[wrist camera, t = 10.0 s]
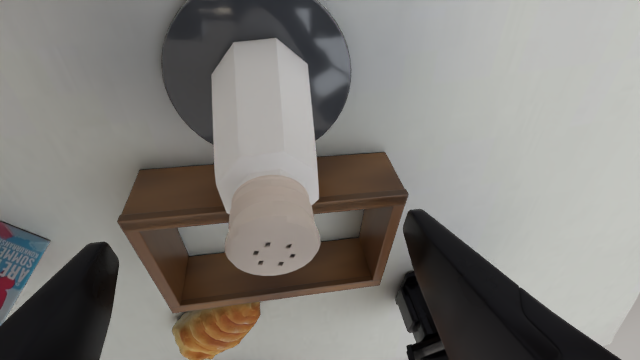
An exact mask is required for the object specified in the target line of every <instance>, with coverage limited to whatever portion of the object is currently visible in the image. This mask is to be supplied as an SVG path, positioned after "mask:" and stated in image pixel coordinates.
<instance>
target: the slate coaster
mask: <svg viewBox="0 0 640 360" xmlns="http://www.w3.org/2000/svg"><path fill="white" fill-rule="evenodd" d="M270 38H277V39H278V40H279V41H281V42H282V43H283V44H284V45H285V46H287V47H288V48H289V49H290V50H291V51H293V52H294V53H295V54H296V55H297V56H299V57H300V58H301V59H302V60H303V61H305V62H306V63H307V64H308V72H309V83H310V93H311V103H312V114H313V124H314V134H315V141H316V140H317V139H318V138H319V137H321V136H322V135H323V134H324V133H325V132H326V131H327V130H328V129H329V128H330V127H331V126H332V125H333V123H334V122H335V121H336V119H337V118H338V116H339V114H340V113H341V111H342V109H343V107H344V105H345V102H346V99H347V96H348V93H349V88H350V82H351V62H350V56H349V51H348V47H347V44H346V41H345V39H344V36H343V34H342V32H341V30H340V28H339V27H338V25H337V23H336V22H335V20H334V19H333V17H332V16H331V15H330V13H329V12H328V11H327V10H326V8H325V7H324V6H323V5H322V4H321V3H320V2H319V1H318V0H187V1H186V2H185V4H184V5H183V6H182V7H181V8H180V10H179V11H178V12H177V14H176V16H175V17H174V19H173V21H172V22H171V24H170V26H169V29H168V31H167V34H166V36H165V40H164V45H163V49H162V73H163V79H164V83H165V87H166V90H167V93H168V95H169V98H170V100H171V102H172V104H173V105H174V107H175V109H176V111H177V112H178V114H179V115H180V116H181V118H182V119H183V120H184V121H185V122H186V124H187V125H188V126H189V127H190V128H191V129H192V130H193V131H195V132H196V133H197V134H198V135H199V136H201V137H202V138H203V139H205V140H206V141H208V142H210V143H211V144H213V145H214V142H213V111H212V79H211V74H212V73H213V71H214V70H215V69H216V67H217V66H218V64H219V63H220V61H221V60H222V58H223V57H224V55H225V54H226V52H227V51H228V50H229V48H230V47H231V45H232V44H233V42H240V41H250V40H260V39H270Z"/></svg>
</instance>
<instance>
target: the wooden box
mask: <svg viewBox="0 0 640 360" xmlns="http://www.w3.org/2000/svg"><path fill="white" fill-rule="evenodd" d="M317 170H318V185H319V199H318V200H317V201H316V202H315V203H314V204H313V205H312V210H313V214H320V213H330V212H340V211H350V210H360V209H364V214H363V219H362V225H361V230H360V235H359V238H352V239H343V240H334V241H325V242H321V244H320V247H319V250H318V252H317V253H316V255H315V256H314V257H313V259H312V260H311V261H310V262H309V263H307V264H306V265H305V266H303V267H301V268H299V269H297V270H295V271H292V272H289V273H286V274H281V275H275V276H261V275H253V274H250V273H247V272H244V271H242V270H240V269H238V268H237V267H236V266H235V265H234V264H233V263H232V262H231V261H230V260H229V259H228V258H227V256H226V253H218V254H209V255H200V256H191V257H189V256H188V253H187V251H186V249H185V246H184V244H183V241H182V239H181V237H180V234H179V232H178V230H177V228H178V227H188V226H198V225H208V224H218V223H229V216H230V214H228V213H226V210H225V207H224V205H223V202H222V199H221V197H220V194H219V191H218V189H217V186H216V180H215V171H214V165H201V166H188V167H174V168H160V169H146V170H139V173H138V175H137V178H136V180H135V182H134V185H133V187H132V190H131V192H130V195H129V197H128V200H127V202H126V204H125V207H124V209H123V212H122V214H121V215H120V216H119V218H118V221H117V222H118V224H119V225H120V227H121V229H122V230H123V232H124V233H125V235H126V237H127V238H128V240H129V241H130V243H131V245H132V246H133V248H134V250H135V251H136V253H137V255H138V256H139V258H140V260H141V261H142V263H143V265H144V266H145V268H146V269H147V271H148V273H149V274H150V276H151V278H152V279H153V281H154V283H155V284H156V286H157V288H158V289H159V291H160V293H161V294H162V296H163V297H164V299H165V301H166V302H167V304H168V306H169V308H170V309H171V311H172V313H179V312H187V311H194V310H201V309H209V308H216V307H223V306H231V305H238V304H245V303H253V302H260V301H267V300H275V299H282V298H290V297H297V296H304V295H312V294H319V293H326V292H334V291H341V290H348V289H356V288H363V287H370V286H378V285H380V283H381V280H382V276H383V273H384V270H385V266H386V263H387V260H388V257H389V254H390V251H391V247H392V244H393V241H394V238H395V235H396V231H397V228H398V225H399V222H400V219H401V216H402V212H403V209H404V206H405V204H406V201H407V197H408V192H407V191H406V189H404V187H403V185H402V183H401V181H400V179H399V177H398V176H397V174H396V172H395V170H394V168H393V166H392V164H391V162H390V160H389V158H388V157H387V155H386V153H385V152H382V153H368V154H354V155H340V156H326V157H317Z"/></svg>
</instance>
